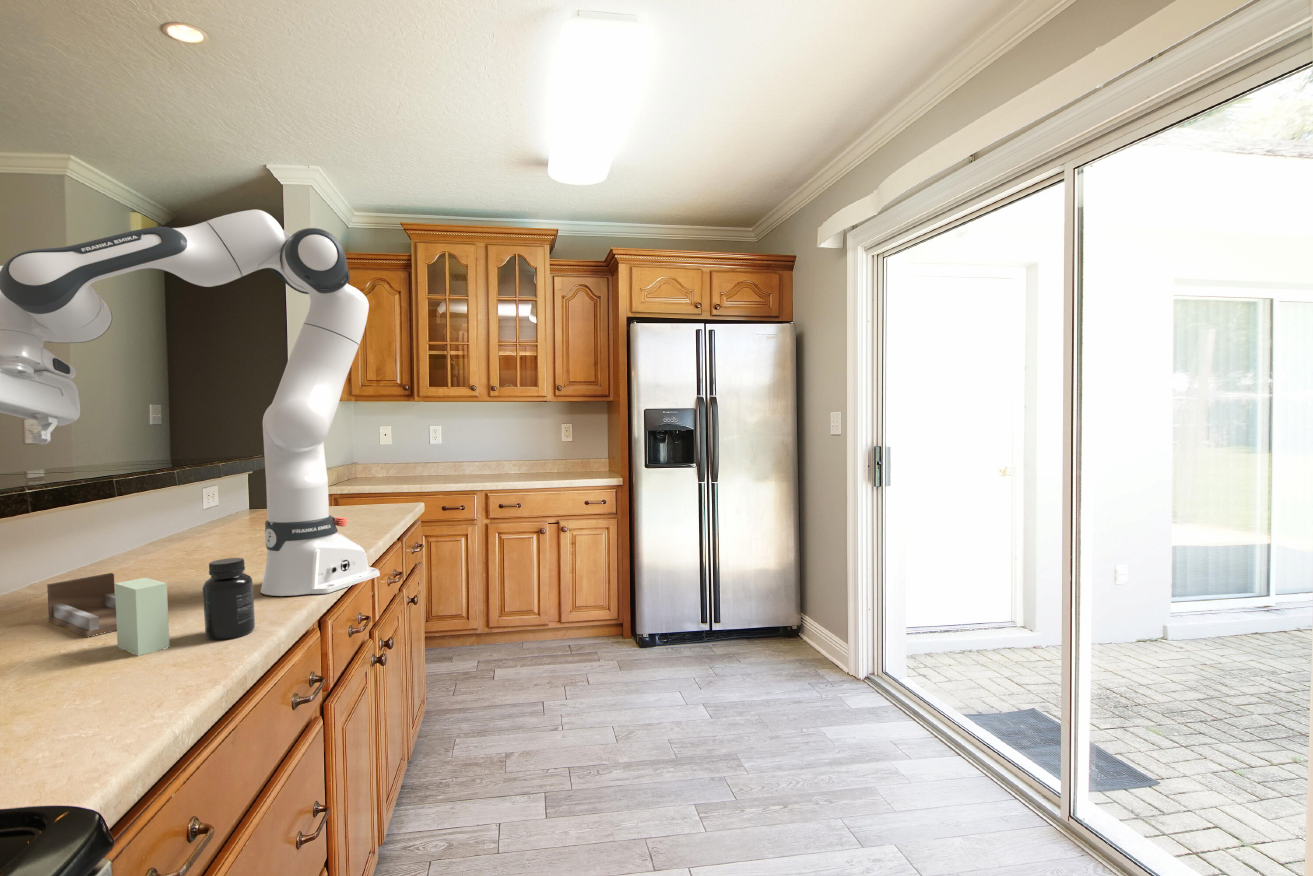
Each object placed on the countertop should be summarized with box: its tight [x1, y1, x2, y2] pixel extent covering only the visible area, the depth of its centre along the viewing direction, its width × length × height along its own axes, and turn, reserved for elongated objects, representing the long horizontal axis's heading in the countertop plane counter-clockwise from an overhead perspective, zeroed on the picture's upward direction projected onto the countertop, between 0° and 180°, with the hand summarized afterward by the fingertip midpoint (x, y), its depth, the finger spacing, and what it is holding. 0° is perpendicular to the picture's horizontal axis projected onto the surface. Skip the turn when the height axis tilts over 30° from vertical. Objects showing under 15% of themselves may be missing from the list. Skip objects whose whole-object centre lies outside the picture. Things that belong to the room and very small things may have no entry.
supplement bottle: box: [202, 557, 256, 641], centre depth 107 cm, size 7×7×12 cm
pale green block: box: [114, 577, 170, 657], centre depth 101 cm, size 7×4×10 cm, turn 59°
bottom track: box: [46, 572, 117, 638], centre depth 113 cm, size 16×9×6 cm, turn 59°
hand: (10, 436), depth 105 cm, fingers open, 8 cm apart
